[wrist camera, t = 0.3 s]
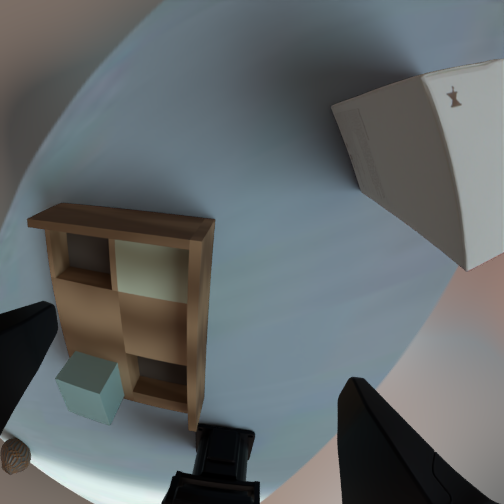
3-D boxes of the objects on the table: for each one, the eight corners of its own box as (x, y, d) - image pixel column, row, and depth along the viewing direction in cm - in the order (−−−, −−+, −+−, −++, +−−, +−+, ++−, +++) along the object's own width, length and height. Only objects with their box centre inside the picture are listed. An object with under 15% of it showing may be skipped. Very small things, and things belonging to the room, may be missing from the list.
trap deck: (204, 397, 28) (196, 431, 24) (87, 369, 28) (70, 397, 24) (215, 219, 21) (201, 241, 17) (61, 202, 21) (27, 218, 17)
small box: (359, 193, 20) (463, 279, 8) (327, 105, 18) (416, 69, 6) (453, 160, 19) (587, 206, 7) (427, 78, 17) (563, 53, 4)
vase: (29, 443, 40) (12, 472, 32) (38, 458, 43) (24, 485, 35) (5, 428, 40) (-12, 455, 32) (16, 444, 43) (0, 470, 35)
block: (124, 395, 26) (110, 425, 22) (85, 383, 26) (68, 410, 22) (117, 362, 24) (99, 394, 20) (75, 350, 24) (55, 378, 20)
